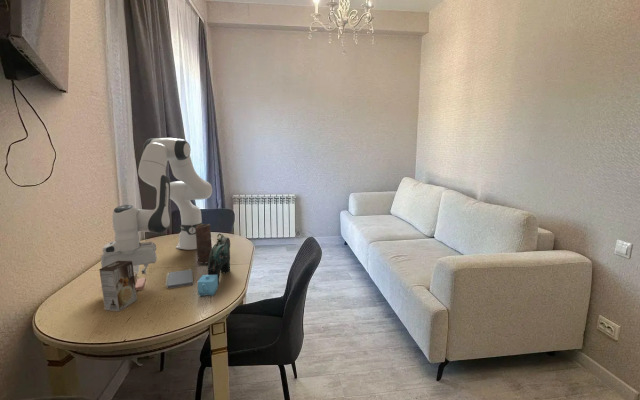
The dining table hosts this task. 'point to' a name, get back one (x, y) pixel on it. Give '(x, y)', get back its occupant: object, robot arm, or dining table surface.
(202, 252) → the candle
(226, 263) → the teal spotted shape
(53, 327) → the dining table surface
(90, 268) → the dining table surface
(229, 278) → the dining table surface
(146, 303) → the dining table surface
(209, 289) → the teapot
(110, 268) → the coffee box
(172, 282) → the grey ring notebook
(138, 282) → the light switch
